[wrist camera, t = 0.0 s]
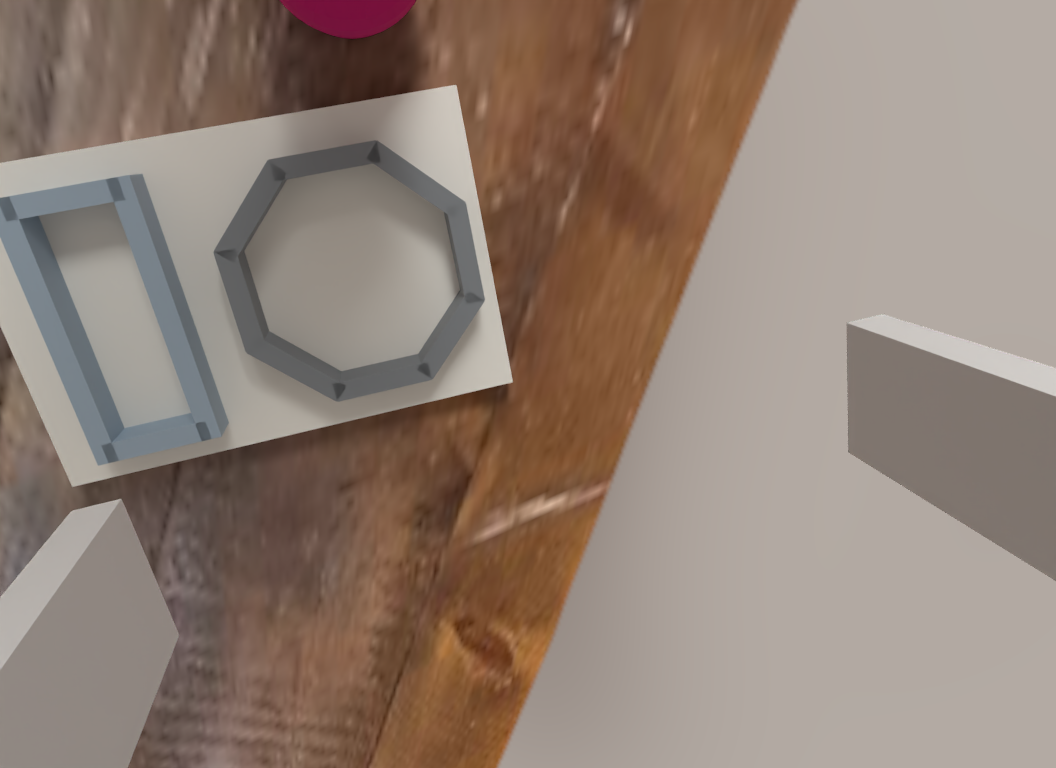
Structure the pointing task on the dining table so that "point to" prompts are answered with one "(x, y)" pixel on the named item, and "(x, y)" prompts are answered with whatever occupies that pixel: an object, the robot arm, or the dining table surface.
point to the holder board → (247, 281)
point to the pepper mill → (349, 15)
